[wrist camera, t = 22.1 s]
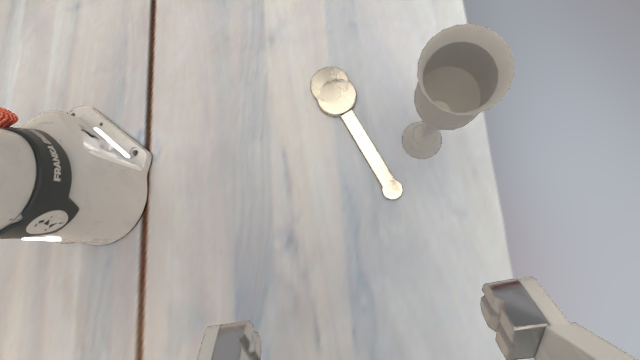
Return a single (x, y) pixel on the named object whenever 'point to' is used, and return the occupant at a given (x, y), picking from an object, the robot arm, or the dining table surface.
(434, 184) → the dining table surface
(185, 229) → the dining table surface
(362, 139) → the spoon
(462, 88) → the chalice
